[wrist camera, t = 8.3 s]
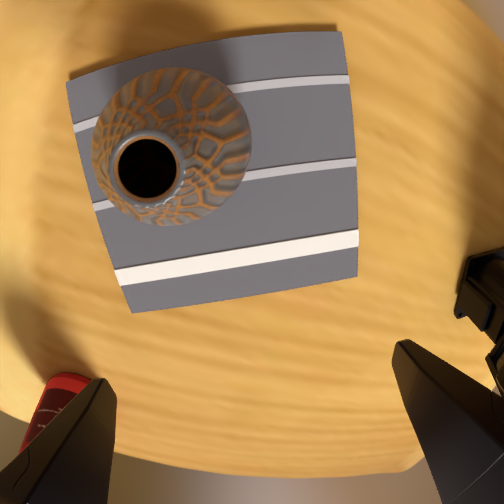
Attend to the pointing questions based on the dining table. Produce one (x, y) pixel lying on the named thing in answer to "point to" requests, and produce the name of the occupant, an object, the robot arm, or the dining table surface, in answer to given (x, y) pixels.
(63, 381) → the canned food
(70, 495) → the robot arm
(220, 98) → the vase
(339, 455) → the dining table surface
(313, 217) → the mat
